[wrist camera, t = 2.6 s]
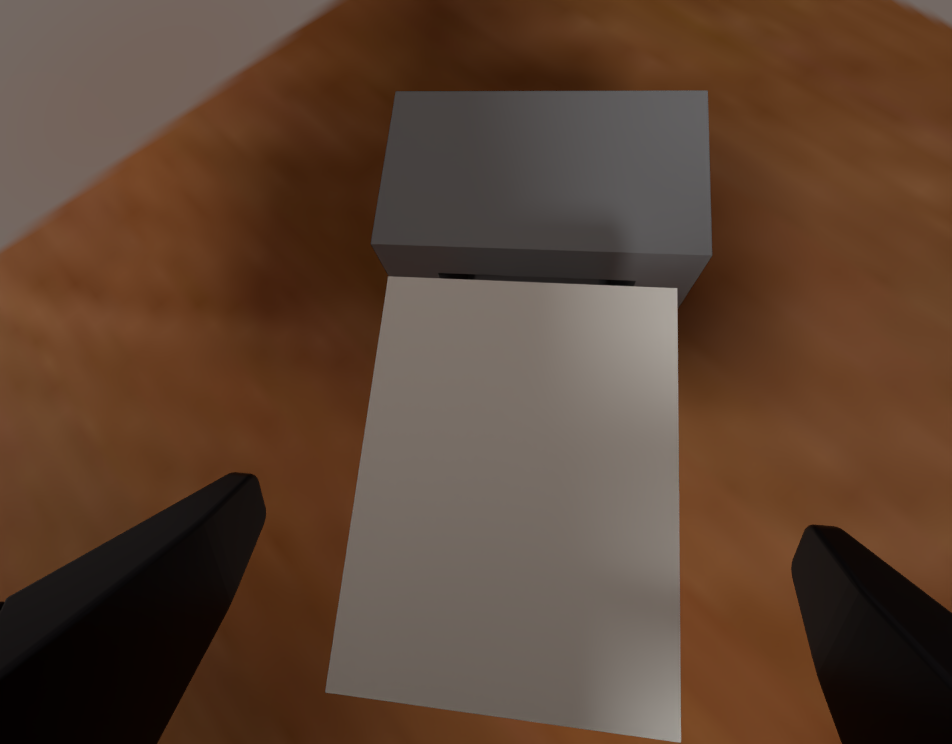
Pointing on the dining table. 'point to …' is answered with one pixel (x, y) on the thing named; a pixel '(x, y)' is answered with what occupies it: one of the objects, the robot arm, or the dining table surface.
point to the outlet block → (547, 186)
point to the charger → (519, 506)
